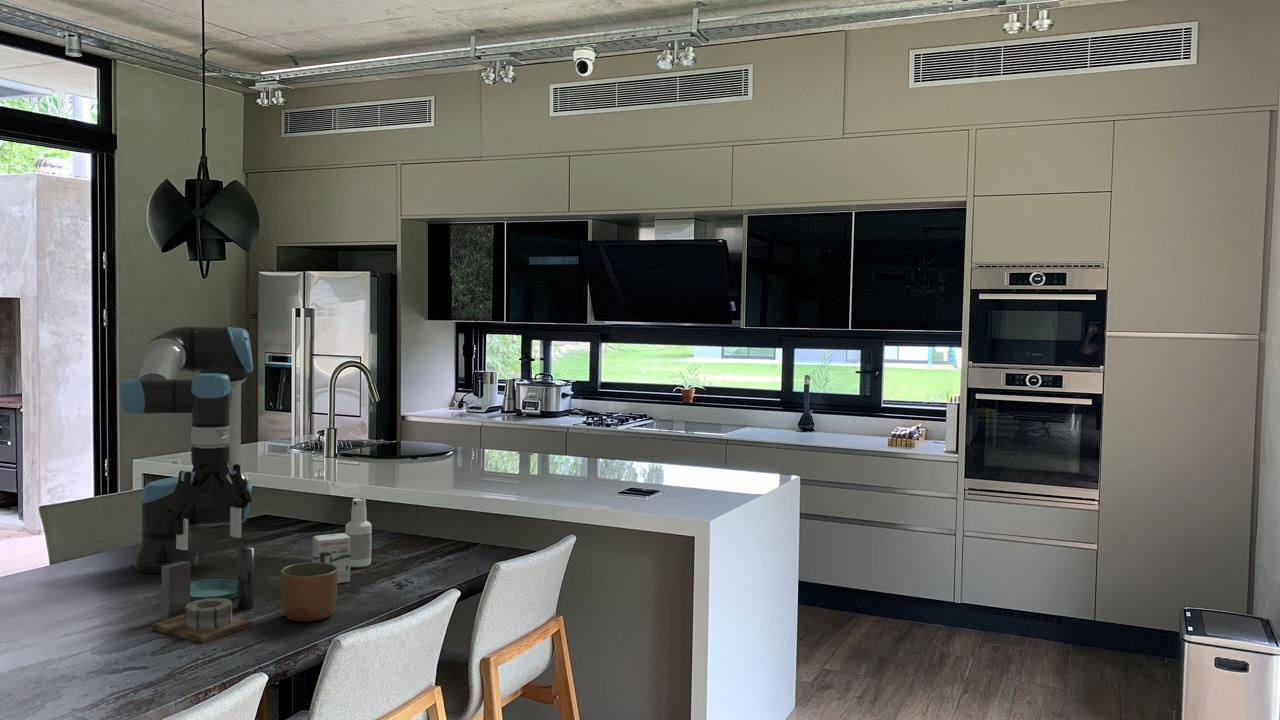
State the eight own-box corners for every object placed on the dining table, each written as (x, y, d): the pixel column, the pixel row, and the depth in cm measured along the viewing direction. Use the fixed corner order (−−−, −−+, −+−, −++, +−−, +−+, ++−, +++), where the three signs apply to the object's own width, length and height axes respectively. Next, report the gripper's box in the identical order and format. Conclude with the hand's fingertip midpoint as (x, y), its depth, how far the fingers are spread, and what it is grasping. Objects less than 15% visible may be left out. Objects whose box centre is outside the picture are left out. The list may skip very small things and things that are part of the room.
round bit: (233, 608, 223) (234, 548, 222) (246, 604, 226) (246, 545, 225) (244, 610, 221) (245, 550, 220) (257, 606, 224) (257, 547, 223)
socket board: (152, 629, 206) (152, 605, 206) (200, 614, 217) (200, 592, 217) (203, 643, 199) (203, 618, 199) (250, 627, 210) (250, 603, 210)
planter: (304, 629, 210) (305, 580, 209) (268, 618, 216) (268, 570, 216) (348, 614, 220) (349, 568, 220) (312, 604, 227) (313, 559, 226)
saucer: (211, 611, 221) (211, 599, 221) (162, 602, 226) (162, 591, 226) (257, 594, 235) (257, 583, 234) (210, 586, 240) (210, 575, 239)
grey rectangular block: (168, 621, 212) (168, 567, 211) (161, 619, 213) (161, 566, 212) (190, 614, 217) (190, 562, 216) (183, 613, 218) (183, 560, 217)
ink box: (316, 586, 242) (317, 540, 241) (311, 581, 246) (312, 535, 245) (350, 582, 246) (351, 536, 246) (345, 577, 251) (345, 532, 250)
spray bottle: (339, 565, 261) (340, 500, 260) (356, 560, 267) (357, 496, 267) (360, 568, 259) (361, 502, 258) (376, 563, 265) (377, 498, 264)
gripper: (170, 453, 194) (170, 557, 195) (269, 440, 216) (268, 533, 217) (146, 450, 197) (145, 552, 198) (245, 437, 219) (244, 529, 221)
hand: (209, 542), depth 208 cm, fingers open, 13 cm apart
